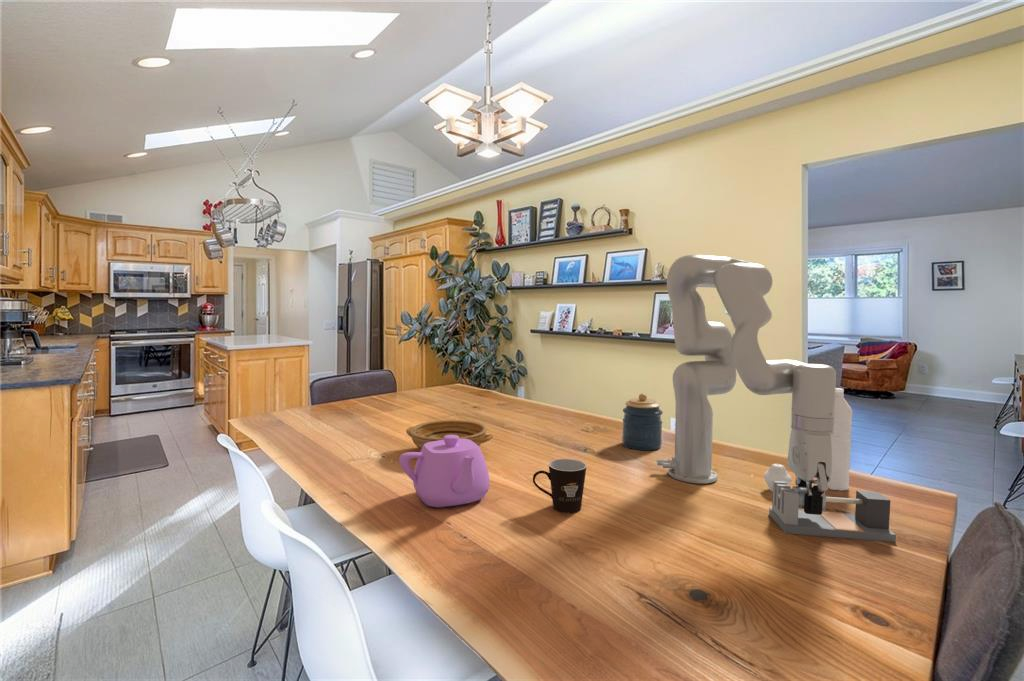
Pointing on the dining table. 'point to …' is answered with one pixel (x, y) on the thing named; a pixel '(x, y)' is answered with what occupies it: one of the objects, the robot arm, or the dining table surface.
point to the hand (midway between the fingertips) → (808, 508)
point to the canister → (642, 424)
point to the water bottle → (841, 443)
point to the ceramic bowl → (448, 431)
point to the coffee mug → (565, 484)
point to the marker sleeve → (802, 492)
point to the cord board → (833, 516)
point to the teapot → (448, 472)
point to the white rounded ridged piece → (776, 475)
